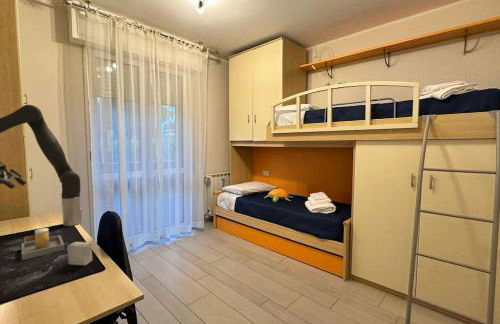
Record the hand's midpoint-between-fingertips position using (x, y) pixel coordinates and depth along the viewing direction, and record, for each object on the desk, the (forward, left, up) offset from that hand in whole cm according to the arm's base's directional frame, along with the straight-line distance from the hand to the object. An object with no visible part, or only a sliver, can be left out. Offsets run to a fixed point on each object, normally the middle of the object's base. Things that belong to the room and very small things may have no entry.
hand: (19, 185), depth 127 cm
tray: (-7, +24, -29) cm, 38 cm away
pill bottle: (-7, +24, -28) cm, 37 cm away
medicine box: (-18, +51, -29) cm, 62 cm away
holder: (-5, +10, -29) cm, 31 cm away
